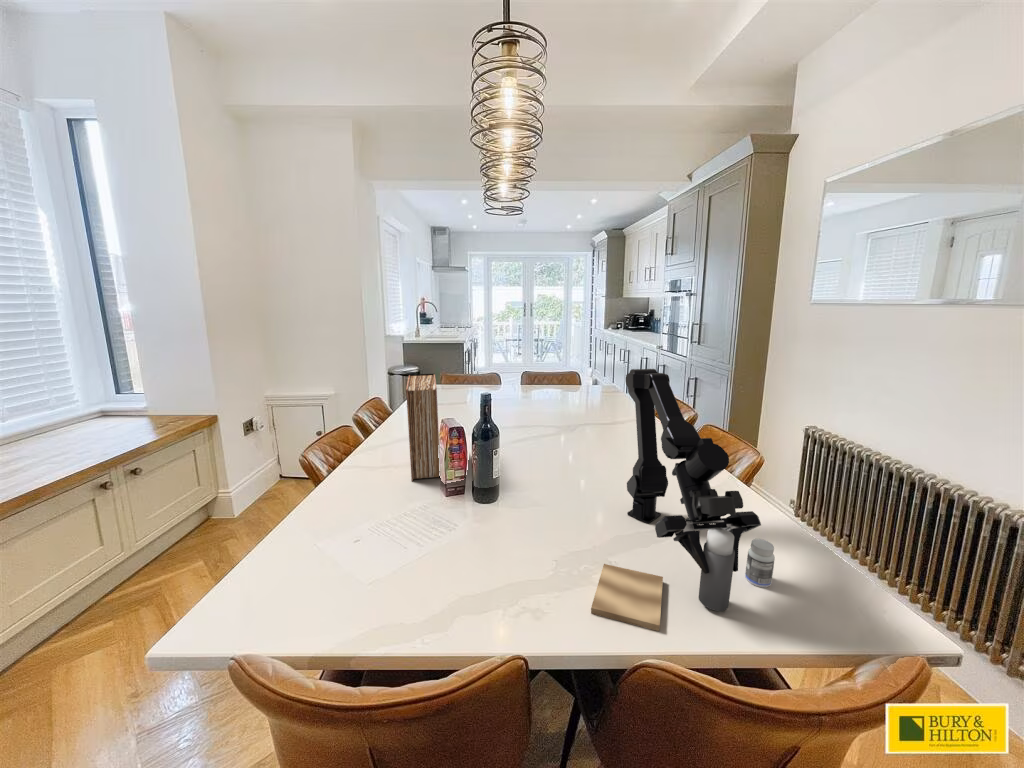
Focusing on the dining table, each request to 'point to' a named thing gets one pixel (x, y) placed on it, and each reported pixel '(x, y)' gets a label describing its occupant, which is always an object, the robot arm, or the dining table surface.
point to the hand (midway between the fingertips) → (721, 572)
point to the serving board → (629, 597)
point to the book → (423, 425)
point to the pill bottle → (760, 563)
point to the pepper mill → (717, 569)
